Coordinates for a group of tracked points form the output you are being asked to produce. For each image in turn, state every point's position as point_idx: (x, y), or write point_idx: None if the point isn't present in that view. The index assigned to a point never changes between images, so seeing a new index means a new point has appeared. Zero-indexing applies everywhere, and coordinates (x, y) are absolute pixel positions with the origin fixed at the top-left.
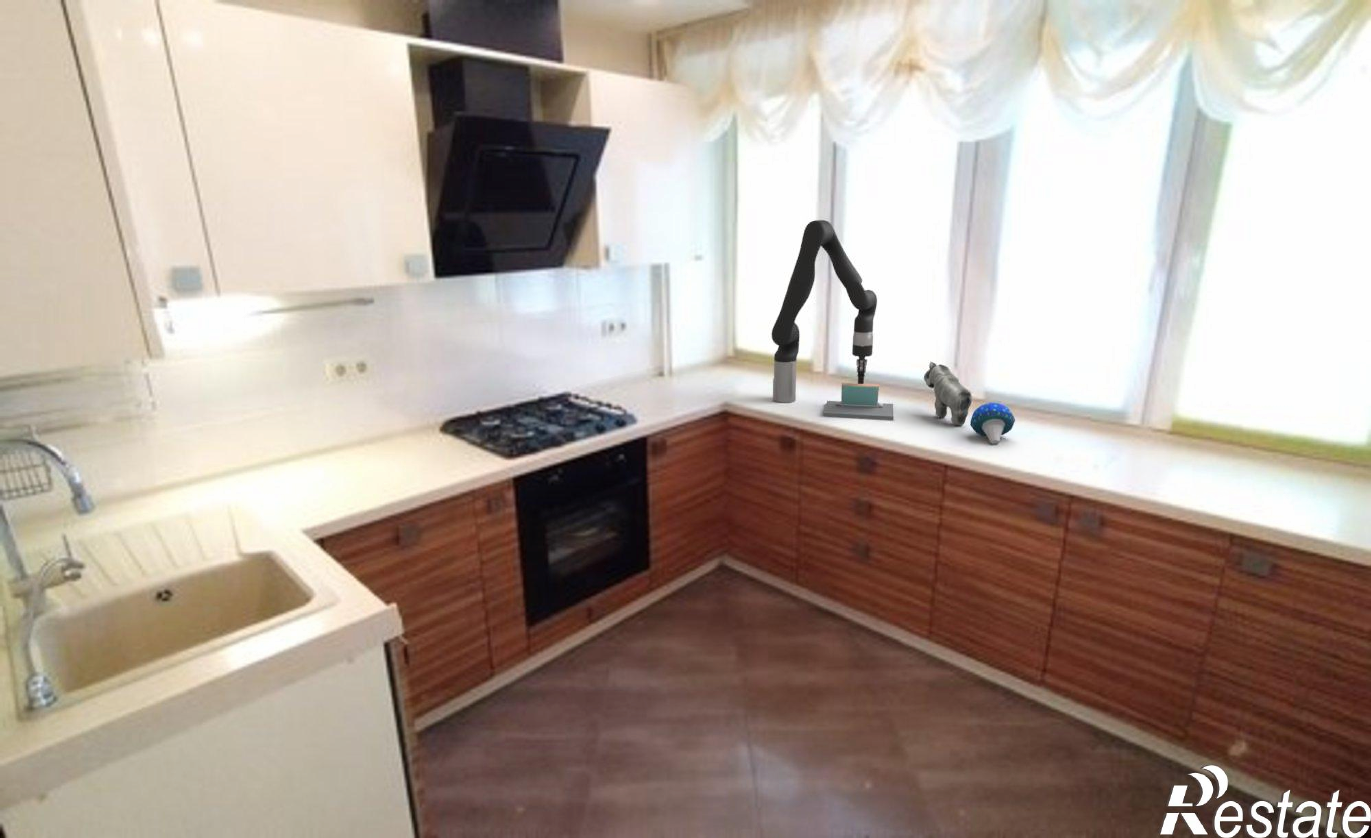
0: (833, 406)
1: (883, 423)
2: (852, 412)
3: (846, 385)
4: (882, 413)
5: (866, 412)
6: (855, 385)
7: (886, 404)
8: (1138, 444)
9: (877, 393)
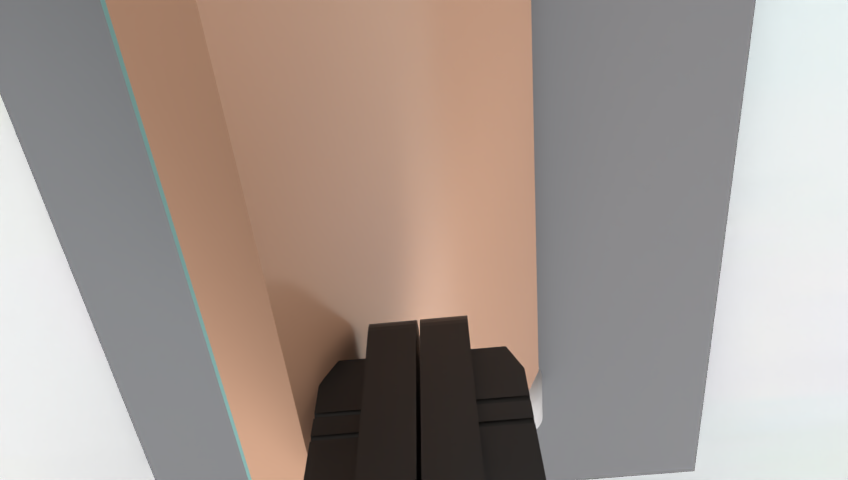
0: None
1: (21, 415)
2: (103, 79)
3: (135, 62)
4: None
5: None
6: (205, 323)
7: (655, 419)
8: None
9: None
